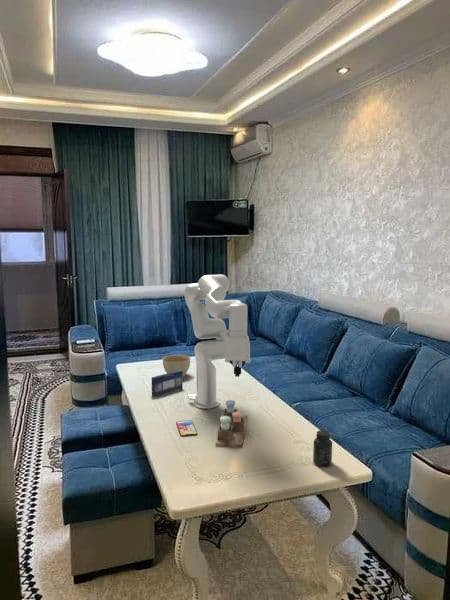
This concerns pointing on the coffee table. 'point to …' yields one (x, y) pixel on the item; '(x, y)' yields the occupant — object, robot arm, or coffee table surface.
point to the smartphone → (186, 428)
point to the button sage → (225, 423)
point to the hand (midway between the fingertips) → (237, 375)
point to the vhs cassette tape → (167, 383)
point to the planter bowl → (176, 363)
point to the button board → (232, 432)
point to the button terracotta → (236, 416)
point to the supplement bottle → (322, 449)
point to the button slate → (230, 406)
